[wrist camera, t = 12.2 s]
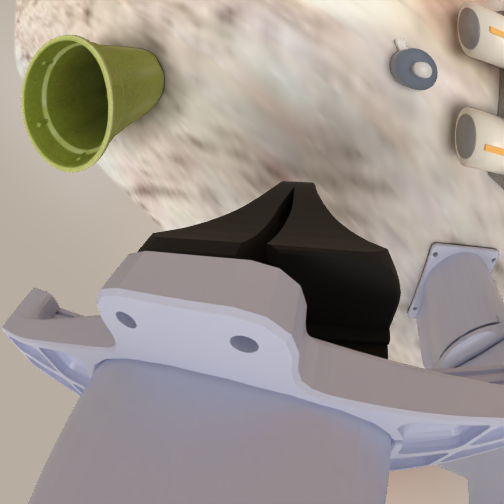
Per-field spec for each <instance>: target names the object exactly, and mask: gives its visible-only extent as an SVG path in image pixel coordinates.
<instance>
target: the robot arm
mask: <svg viewBox="0 0 504 504" xmlns="http://www.w3.org/2000/svg"><path fill="white" fill-rule="evenodd" d="M435 252H437V253H436V254H434V253H435ZM498 257H499V252H498V250H496V249H488V248H479V247H470V246H461V245H451V244H441V243H435V244H433V245H432V247H431V250H430V253H429V256H428V259H427V262H426V265H425V268H424V271H423V274H422V277H421V280H420V283H419V285H418V288H417V291H416V293H415V296H414V298H413V301H412V304H411V306H410V308H409V311H408V317H410V318H416V321H417V327H418V333H419V340H420V347H421V354H422V361H423V364H424V367H425V369H423V368H419V367H415V366H411V365H407V364H403V363H399V362H395V361H392V360H388V348H387V345H388V344H389V342H390V330H389V328H390V325H391V323H392V320H393V317H394V315H395V312H396V310H397V307H398V304H399V300H400V294H401V291H400V283H399V278H398V275H397V271H396V269H395V266H394V263H393V261H392V259H391V256H390V254H389V252H388V250H387V249H386V248H383V247H381V246H378V245H376V244H374V243H371V242H369V241H367V240H365V239H363V238H361V237H360V236H358V235H356V234H355V233H353V232H351V231H350V230H349V229H347V228H346V227H345V226H343V225H342V224H341V223H340V222H339V221H337V220H336V219H335V218H334V217H333V215H332V214H331V213H330V212H329V210H328V209H327V208H326V206H325V205H324V203H323V202H322V200H321V198H320V197H319V195H318V193H317V190H316V186H315V184H314V183H309V182H286V181H283V182H281V183H279V184H278V185H276V186H275V187H273V188H272V189H270V190H269V191H268V192H266V193H265V194H263V195H262V196H260V197H259V198H257V199H255V200H254V201H252V202H250V203H249V204H247V205H245V206H244V207H242V208H240V209H238V210H236V211H233V212H231V213H229V214H227V215H224V216H221V217H219V218H216V219H213V220H210V221H208V222H204V223H201V224H197V225H194V226H190V227H185V228H181V229H176V230H170V231H164V232H158V233H153V234H152V235H151V236H150V237H149V239H148V240H147V241H146V242H145V243H144V245H143V246H142V247H141V248H140V249H139V251H138V252H137V253H132V254H129V255H128V256H127V257H126V259H125V260H124V261H123V262H122V263H121V265H120V266H119V267H118V268H117V269H116V271H115V272H114V273H113V275H112V276H111V277H110V278H109V279H108V281H107V282H106V283H105V285H104V286H103V287H102V288H101V290H100V292H99V294H98V296H97V298H96V303H97V307H98V309H99V312H100V315H99V316H83V315H79V314H76V313H73V312H70V311H68V310H65V309H62V308H59V305H58V303H57V301H56V300H55V298H54V297H53V296H52V295H51V294H50V293H48V292H47V291H44V290H41V289H38V288H33V289H32V290H31V292H30V293H29V294H28V295H27V296H26V298H25V299H24V300H23V301H22V302H21V304H20V305H19V306H18V307H17V309H16V310H15V311H14V312H13V314H12V315H11V316H10V317H9V319H8V320H7V321H6V323H5V324H4V325H3V327H2V330H3V331H4V333H5V334H6V335H7V336H8V337H9V339H10V340H11V341H12V342H13V343H14V344H15V346H16V347H17V348H18V349H19V350H20V351H21V352H22V353H23V354H24V356H25V357H26V358H27V359H28V360H29V361H30V362H31V363H32V364H33V365H34V366H35V367H37V368H38V369H39V370H41V371H42V372H44V373H45V374H47V375H49V376H50V377H52V378H53V379H55V380H56V381H57V382H59V383H61V384H62V385H64V386H65V387H67V388H68V389H70V390H71V391H73V392H74V393H76V394H78V395H79V396H80V398H79V400H78V402H77V404H76V405H75V407H74V409H73V411H72V413H71V414H70V416H69V418H68V420H67V422H66V424H65V426H64V428H63V430H62V432H61V434H60V436H59V438H58V440H57V441H56V444H55V446H54V448H53V450H52V452H51V454H50V456H49V458H48V460H47V462H46V464H45V466H44V469H43V471H42V473H41V475H40V477H39V480H38V482H37V484H36V487H35V489H34V491H33V493H32V496H31V498H30V501H29V503H28V504H385V501H386V494H387V486H388V477H389V471H397V470H405V469H412V468H419V467H425V466H431V465H436V464H437V465H438V466H439V467H441V468H444V469H446V470H448V471H451V472H453V473H456V474H458V475H460V476H463V477H465V478H466V479H468V488H469V504H504V303H503V300H502V298H501V296H500V294H499V291H498V289H497V287H496V285H495V282H494V280H493V278H492V276H491V272H492V270H493V268H494V266H495V263H496V261H497V259H498ZM493 258H494V259H493ZM414 307H415V308H414Z"/></svg>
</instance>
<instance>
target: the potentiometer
mask: <svg viewBox="0 0 504 504" xmlns="http://www.w3.org/2000/svg"><path fill="white" fill-rule="evenodd" d="M394 42H395V44H396V47H397V49H398V51H397V52H396V53H395V54H394V55H393V56H392V57H391V60H390V70H391V73H392V75H393V77H394V78H395V79H396V80H397V81H398V82H399V83H400V84H402V85H404V86H407V87H410V88H413V89H416V90H426V89H428V88H430V87H432V86H433V85H434V83H435V82H436V79H437V67H436V64H435V62H434V60H433V59H432V58H431V57H430V56H429V55H428V54H427V53H426V52H424V51H422V50H419V49H408V48H407V46H406V43H405V41H404V38H402V39H396V40H394Z"/></svg>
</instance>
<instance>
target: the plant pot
mask: <svg viewBox="0 0 504 504" xmlns="http://www.w3.org/2000/svg"><path fill="white" fill-rule="evenodd" d="M163 87H164V73H163V71H162V69H161V67H160V65H159V63H158V61H157V58H156V57H155V56H154V55H153V54H152V53H151V52H149V51H147V50H144V49H140V48H132V47H122V46H110V45H98V44H96V43H93V42H90V41H89V40H87V39H85V38H83V37H80V36H76V35H63V36H58V37H56V38H53V39H52V40H50V41H48V42H47V43H45V44H44V45H43V46H42V47H41V48H40V49H39V50H38V51H37V53H36V54H35V55H34V57H33V58H32V60H31V62H30V64H29V67H28V69H27V72H26V74H25V78H24V81H23V87H22V98H21V99H22V113H23V120H24V124H25V127H26V130H27V133H28V136H29V138H30V140H31V142H32V144H33V146H34V148H35V149H36V150H37V152H38V153H39V154H40V156H41V157H42V158H43V159H44V160H45V161H46V162H47V163H49V164H50V165H51V166H53V167H55V168H57V169H59V170H61V171H65V172H79V171H83V170H85V169H87V168H89V167H90V166H92V165H93V164H95V163H96V162H97V161H98V160H99V159H100V157H101V156H102V155H103V153H104V152H105V150H106V149H107V147H108V145H109V143H110V141H111V140H112V139H113V137H114V136H115V135H116V134H118V133H119V132H120V131H121V130H123V129H124V128H125V127H127V126H128V125H129V124H131V123H132V122H134V121H135V120H136V119H138V118H139V117H141V116H142V115H144V114H145V113H147V112H148V111H149V110H150V109H152V108H153V107H154V106H155V105H156V103H157V102H158V100H159V99H160V97H161V94H162V91H163Z"/></svg>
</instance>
